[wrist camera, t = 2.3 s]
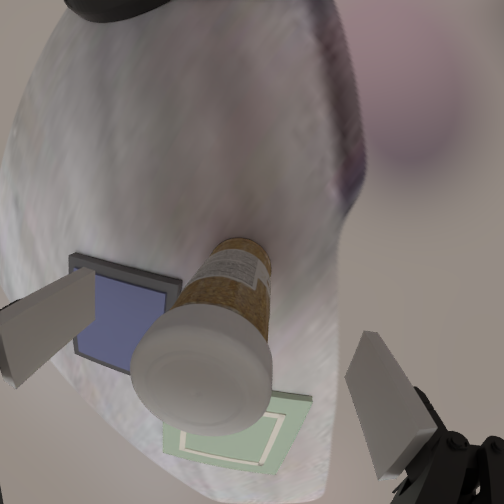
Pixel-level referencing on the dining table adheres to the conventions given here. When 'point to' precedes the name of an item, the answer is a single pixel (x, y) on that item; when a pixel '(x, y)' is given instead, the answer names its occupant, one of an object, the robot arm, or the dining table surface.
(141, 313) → the ink pad
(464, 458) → the robot arm
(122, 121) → the dining table surface
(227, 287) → the sprinkles bottle
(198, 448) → the board
